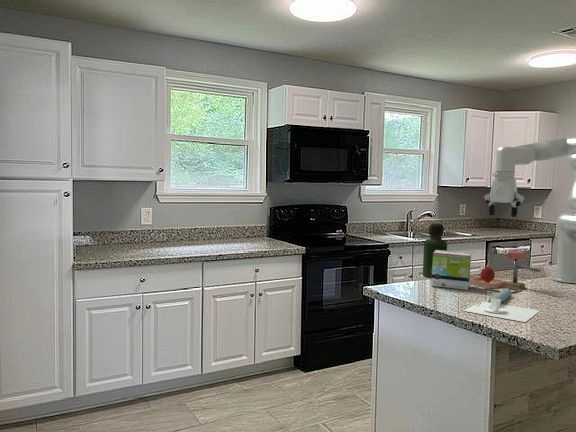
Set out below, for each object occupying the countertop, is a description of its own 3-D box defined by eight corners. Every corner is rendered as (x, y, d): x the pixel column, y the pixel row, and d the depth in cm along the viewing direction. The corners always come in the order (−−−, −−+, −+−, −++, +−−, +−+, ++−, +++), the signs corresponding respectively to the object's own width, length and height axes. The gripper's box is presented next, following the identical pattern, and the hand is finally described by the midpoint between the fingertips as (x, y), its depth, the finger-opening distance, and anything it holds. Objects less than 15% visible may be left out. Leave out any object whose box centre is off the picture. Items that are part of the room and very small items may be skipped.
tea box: (430, 286, 210) (432, 252, 209) (433, 282, 219) (434, 249, 218) (468, 290, 204) (470, 254, 203) (469, 286, 213) (471, 251, 212)
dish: (480, 281, 226) (481, 276, 225) (506, 285, 216) (506, 280, 216) (466, 283, 218) (466, 279, 218) (492, 288, 209) (492, 283, 209)
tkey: (506, 282, 212) (508, 252, 211) (519, 281, 214) (521, 252, 214) (531, 288, 200) (533, 257, 199) (544, 288, 202) (546, 256, 201)
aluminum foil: (497, 308, 177) (498, 298, 177) (478, 305, 181) (478, 296, 181) (511, 297, 195) (512, 288, 195) (493, 294, 199) (494, 286, 199)
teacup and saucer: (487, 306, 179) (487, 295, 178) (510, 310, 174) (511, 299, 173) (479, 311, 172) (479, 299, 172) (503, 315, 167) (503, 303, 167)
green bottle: (448, 279, 227) (451, 225, 225) (425, 279, 227) (428, 224, 225) (442, 275, 237) (444, 223, 235) (420, 274, 237) (422, 222, 236)
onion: (495, 285, 214) (496, 266, 213) (481, 284, 215) (482, 265, 215) (492, 282, 220) (493, 264, 219) (478, 281, 221) (479, 263, 220)
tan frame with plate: (506, 284, 219) (506, 280, 218) (530, 289, 210) (530, 284, 210) (484, 289, 207) (484, 284, 207) (509, 294, 199) (509, 289, 199)
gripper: (481, 175, 217) (479, 214, 218) (520, 175, 204) (518, 217, 205) (490, 176, 222) (488, 214, 223) (529, 176, 209) (526, 217, 210)
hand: (502, 215), depth 214 cm, fingers open, 9 cm apart
